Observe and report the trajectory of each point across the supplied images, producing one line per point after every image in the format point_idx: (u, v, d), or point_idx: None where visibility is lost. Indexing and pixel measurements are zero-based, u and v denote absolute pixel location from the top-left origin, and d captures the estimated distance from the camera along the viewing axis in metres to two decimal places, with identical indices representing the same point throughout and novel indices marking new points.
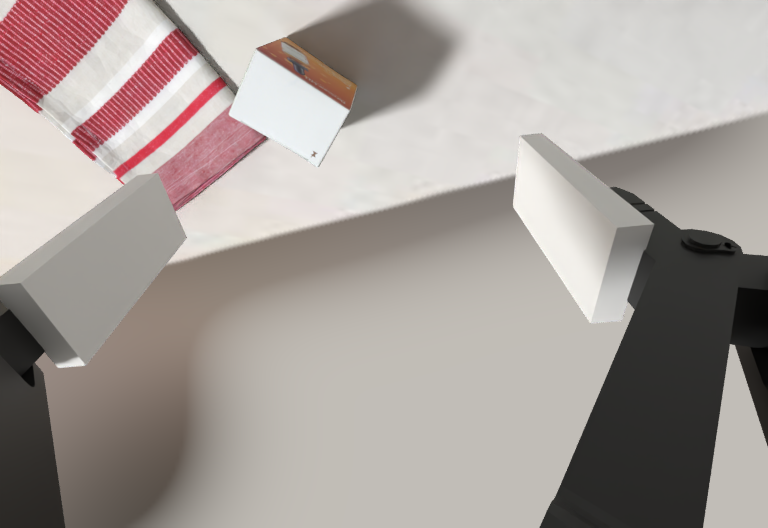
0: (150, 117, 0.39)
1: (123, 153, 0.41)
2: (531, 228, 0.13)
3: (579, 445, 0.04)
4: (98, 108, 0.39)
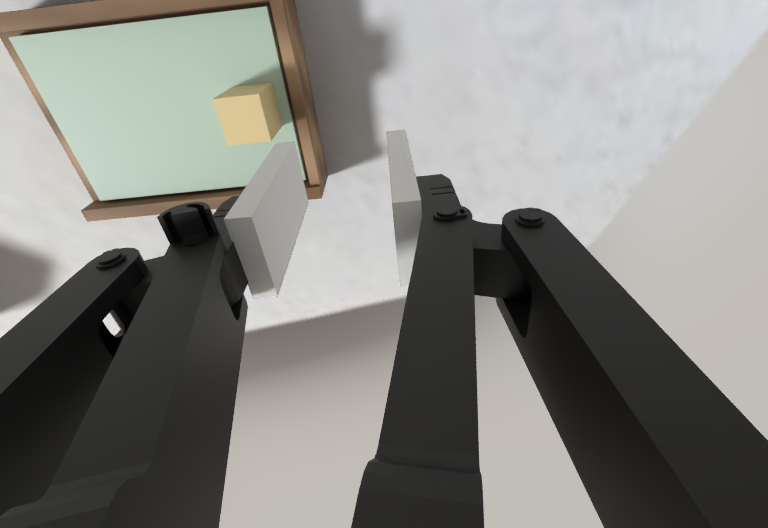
0: None
1: None
2: None
3: (387, 405, 0.05)
4: None
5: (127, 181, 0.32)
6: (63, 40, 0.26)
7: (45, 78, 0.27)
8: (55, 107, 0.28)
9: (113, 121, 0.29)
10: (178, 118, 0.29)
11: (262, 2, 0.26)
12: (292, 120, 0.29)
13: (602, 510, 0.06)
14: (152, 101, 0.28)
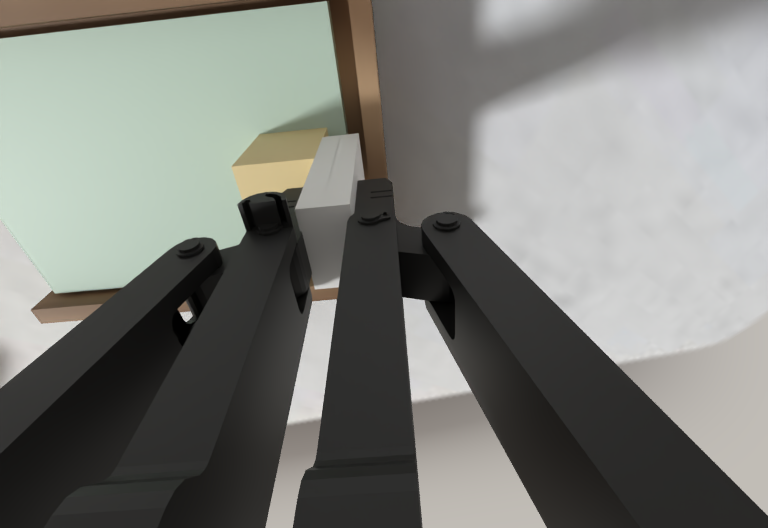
0: None
1: None
2: None
3: (323, 411, 0.05)
4: None
5: (94, 268, 0.21)
6: None
7: None
8: None
9: (67, 184, 0.18)
10: (172, 180, 0.18)
11: None
12: None
13: (537, 499, 0.06)
14: (130, 155, 0.17)
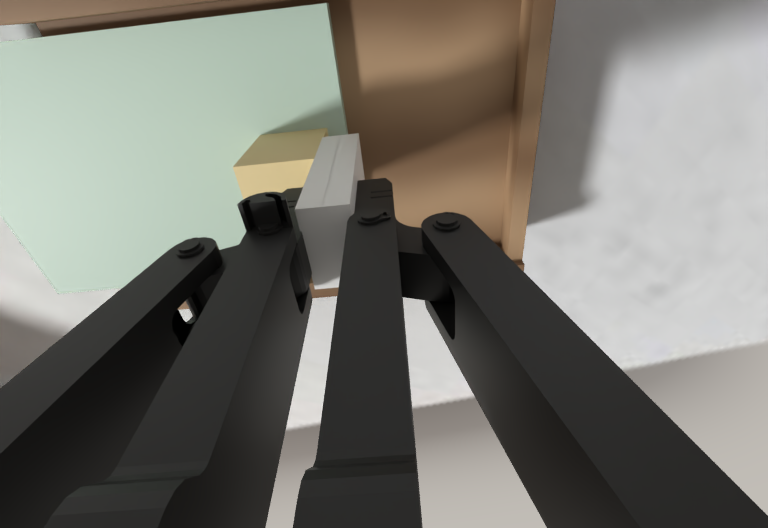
0: None
1: None
2: None
3: (323, 411, 0.05)
4: None
5: (97, 268, 0.21)
6: None
7: None
8: None
9: (70, 185, 0.18)
10: (174, 181, 0.18)
11: None
12: None
13: (537, 500, 0.06)
14: (132, 157, 0.18)
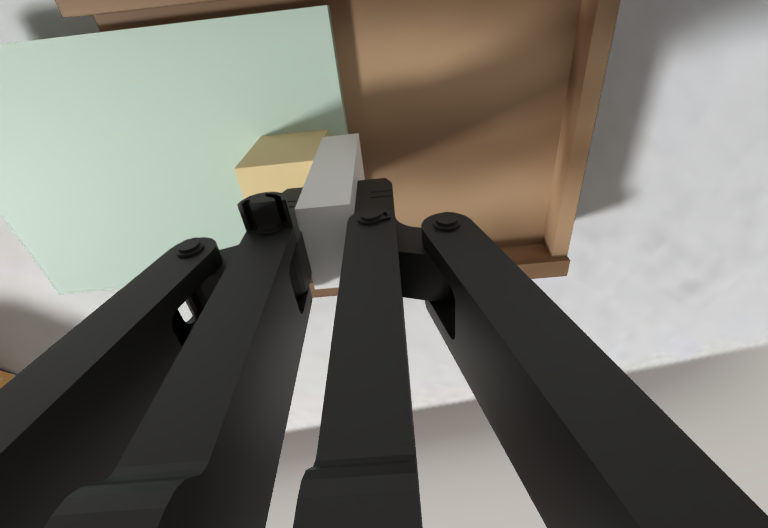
0: None
1: None
2: None
3: (323, 411, 0.05)
4: None
5: (98, 269, 0.21)
6: None
7: None
8: None
9: (72, 186, 0.18)
10: (175, 182, 0.18)
11: None
12: None
13: (537, 500, 0.06)
14: (133, 158, 0.18)
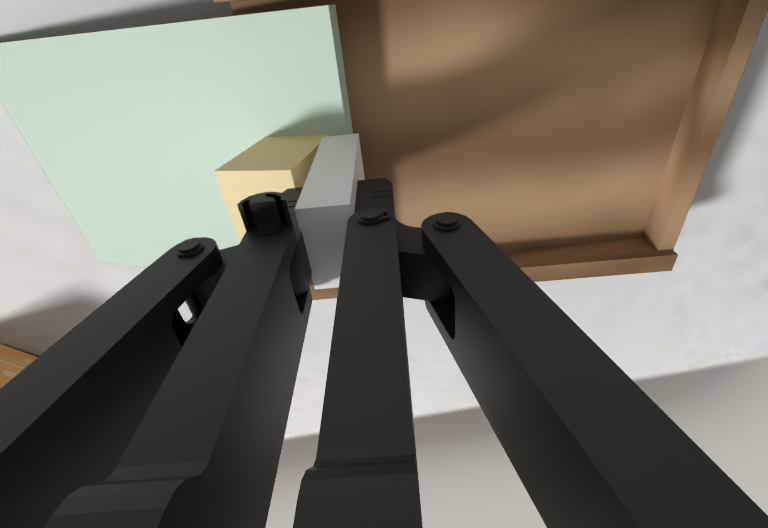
0: None
1: None
2: None
3: (323, 411, 0.05)
4: None
5: (129, 245, 0.23)
6: (32, 53, 0.17)
7: (18, 105, 0.19)
8: (35, 145, 0.20)
9: (106, 169, 0.20)
10: (189, 174, 0.19)
11: None
12: None
13: (537, 500, 0.06)
14: (154, 148, 0.19)
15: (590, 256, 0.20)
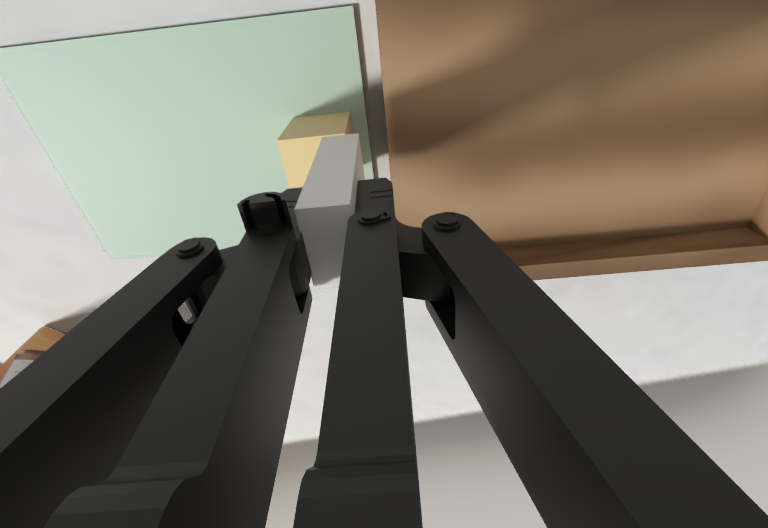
0: None
1: None
2: None
3: (323, 411, 0.05)
4: None
5: (146, 236, 0.24)
6: (61, 53, 0.18)
7: (37, 105, 0.20)
8: (51, 144, 0.21)
9: (129, 161, 0.21)
10: (217, 158, 0.21)
11: None
12: None
13: (537, 500, 0.06)
14: (184, 136, 0.21)
15: (700, 245, 0.20)
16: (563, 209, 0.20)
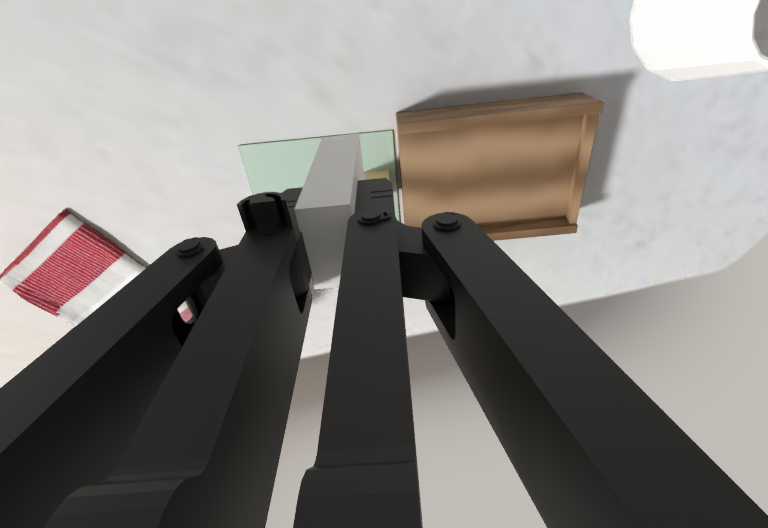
0: None
1: None
2: None
3: (323, 411, 0.05)
4: None
5: None
6: (269, 147, 0.44)
7: (252, 167, 0.45)
8: (253, 183, 0.46)
9: None
10: None
11: None
12: (396, 190, 0.47)
13: (537, 499, 0.06)
14: None
15: (539, 226, 0.46)
16: (479, 211, 0.46)
